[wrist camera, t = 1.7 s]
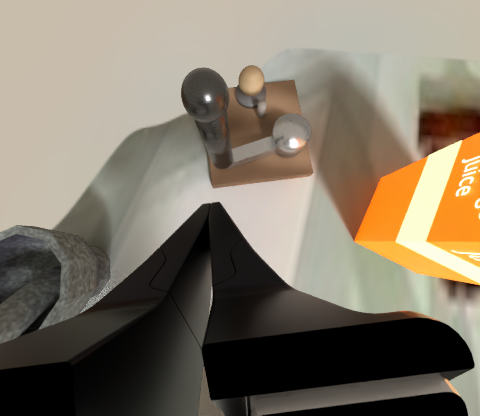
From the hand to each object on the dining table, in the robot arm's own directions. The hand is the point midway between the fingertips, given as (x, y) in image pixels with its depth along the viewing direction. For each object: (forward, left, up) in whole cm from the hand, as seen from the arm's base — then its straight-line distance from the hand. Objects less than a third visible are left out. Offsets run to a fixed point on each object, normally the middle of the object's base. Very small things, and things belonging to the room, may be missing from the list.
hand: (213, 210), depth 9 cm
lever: (+4, -9, -12) cm, 15 cm away
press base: (+6, -11, -13) cm, 18 cm away
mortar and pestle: (+8, +16, -13) cm, 22 cm away
